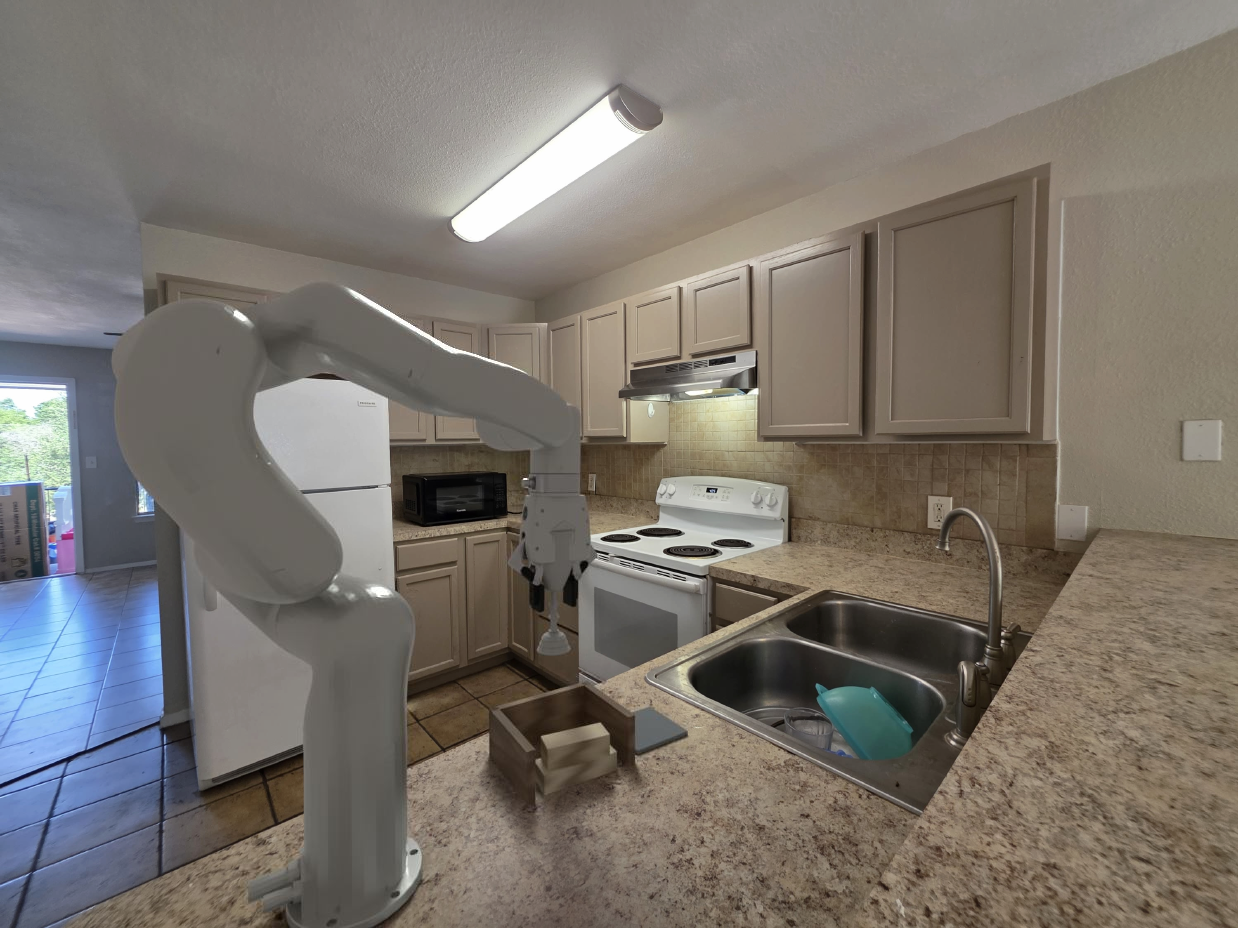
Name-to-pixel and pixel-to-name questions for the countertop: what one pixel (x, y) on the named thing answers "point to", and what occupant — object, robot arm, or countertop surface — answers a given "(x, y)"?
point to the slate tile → (654, 729)
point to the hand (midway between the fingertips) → (553, 606)
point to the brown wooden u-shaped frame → (553, 729)
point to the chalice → (554, 582)
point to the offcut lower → (573, 773)
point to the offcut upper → (574, 746)
